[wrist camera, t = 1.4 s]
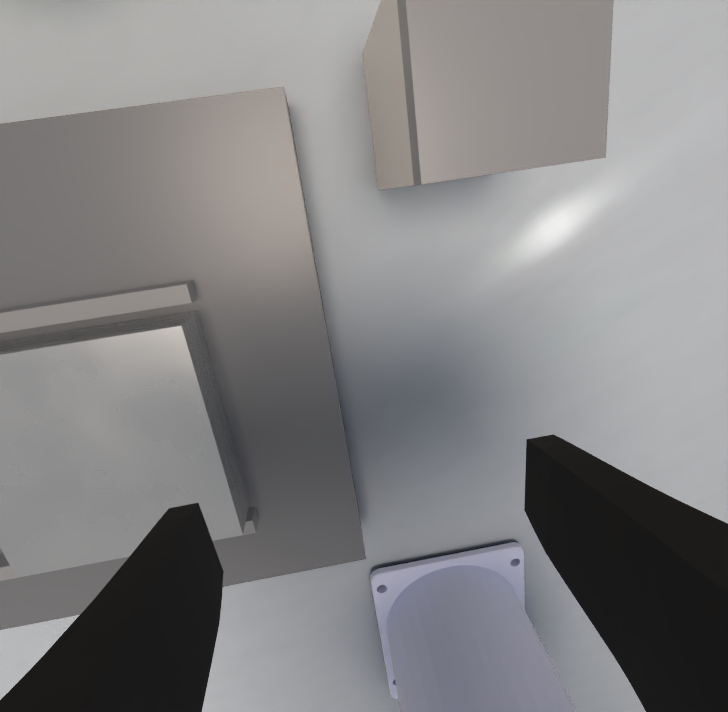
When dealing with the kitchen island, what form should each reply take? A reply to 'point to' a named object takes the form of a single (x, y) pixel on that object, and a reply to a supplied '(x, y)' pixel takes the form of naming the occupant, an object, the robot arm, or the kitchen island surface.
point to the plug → (486, 86)
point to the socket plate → (187, 304)
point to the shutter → (111, 441)
